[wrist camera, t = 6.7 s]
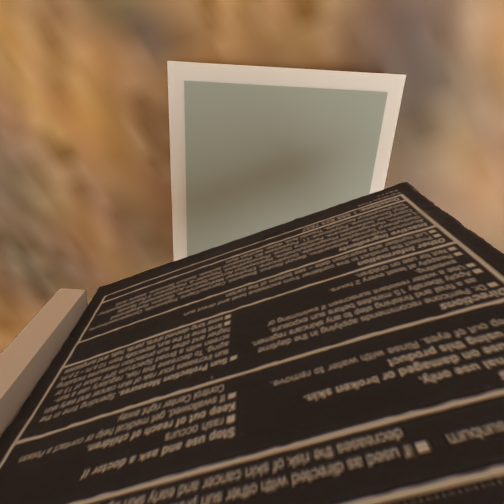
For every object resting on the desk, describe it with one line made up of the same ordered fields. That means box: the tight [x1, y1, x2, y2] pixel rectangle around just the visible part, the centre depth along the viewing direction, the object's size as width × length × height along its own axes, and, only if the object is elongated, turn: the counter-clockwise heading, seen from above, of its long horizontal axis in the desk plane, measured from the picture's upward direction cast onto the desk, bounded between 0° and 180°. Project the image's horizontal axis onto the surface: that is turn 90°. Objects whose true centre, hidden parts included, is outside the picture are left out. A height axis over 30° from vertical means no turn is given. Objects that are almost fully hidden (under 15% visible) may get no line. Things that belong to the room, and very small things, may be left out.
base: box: [167, 61, 406, 261], centre depth 27 cm, size 14×14×4 cm
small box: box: [0, 182, 504, 504], centre depth 9 cm, size 11×6×10 cm, turn 111°
